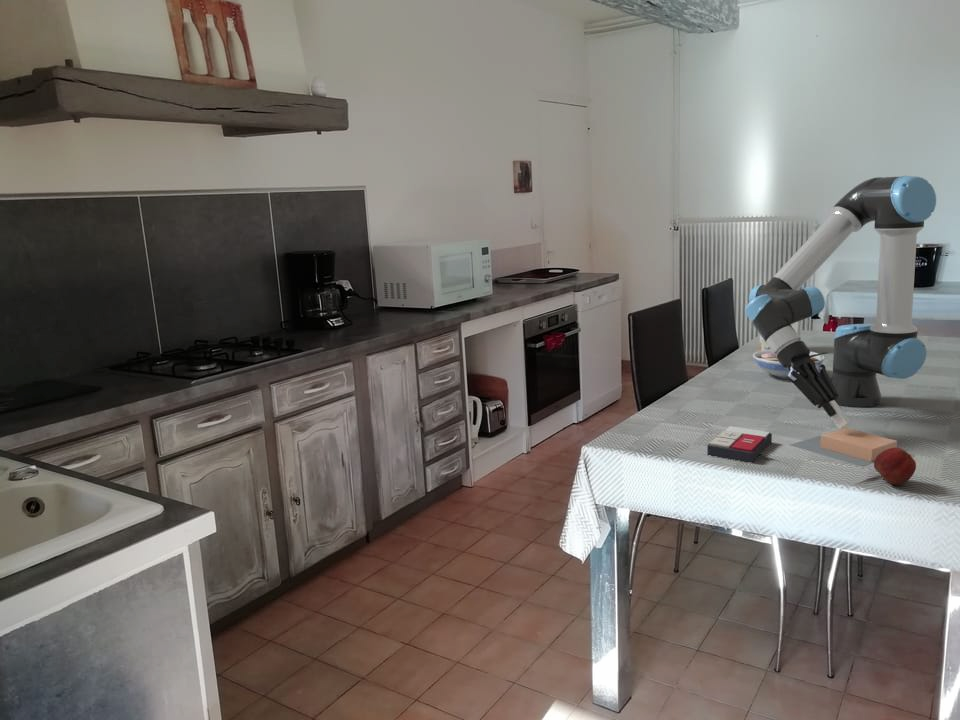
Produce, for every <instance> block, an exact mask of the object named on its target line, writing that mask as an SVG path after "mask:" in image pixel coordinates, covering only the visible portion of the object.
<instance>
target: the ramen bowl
mask: <svg viewBox="0 0 960 720" xmlns="http://www.w3.org/2000/svg"><path fill="white" fill-rule="evenodd" d="M826 354H828V352H826V351H825V352H821V353H818V352H814V351H810V354H809V357H810V358H811V359H812V360H813V361H814V362H815V364H816V365H819V366H820V365H821V364H823V362H824V360H825V355H826ZM752 357H753V359H754V361H755V363H756V364H757V366H758V367H759V368H760V369H762V370H763V371H764V372H766V373H768V374H770V375H772V376H775V377H776V378H778V377H779V379H783V378H784V379H786V380H788V379H787V378H786V376H787V375H788V374H789V373H790V371H789V369H788V368H784V367H783V366H782V365H781V363H780V362H779V360H778V359H777V355H775V354H774V353H773V352H772V350H771V349H770V350H762V351H759V350H758V351H756V352H753V354H752Z"/></svg>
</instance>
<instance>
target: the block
mask: <svg viewBox="0 0 960 720" xmlns="http://www.w3.org/2000/svg"><path fill="white" fill-rule="evenodd" d="M820 436H821V442H820V447H821V448H824V449H828V450H831V451H835V452H838V453H842V454H845V455H849V456H852V457H856V458H860V459H863V460H867V461H870V462H872V461H875V459H876V457H877V456H878V455H879V454H880V453H881V452H883V451H885V450H887V449H890V448H896V447H897V448H898V440H895V439H891V438H887V437H882V436H879V435H876V434H871V433H867V432H863V431H860V430H855V429H853V428H852V429H851V428H847V427H844V428H841V429H838V430H834V431H830V432H829V433H828V434H827V433H824V434H821V435H820Z"/></svg>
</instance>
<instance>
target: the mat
mask: <svg viewBox="0 0 960 720" xmlns="http://www.w3.org/2000/svg"><path fill="white" fill-rule="evenodd" d="M826 434H828V433H827V432H826ZM820 442H821V435H818V436H814V437H812V438H809V439H808V438H807V439H803V440H800V441H798V442H794V443H791V444H790V447H791V446H792V447H794V448H799V449H802V450H805V451H809V452H812V453H816V454H819V455H822V456H825V457H829V458H833V459H835V460H839V461H844V462H846V463H849V464H853V465H857V466H860V467H865V466H867V465H870V464H874V461H872V462H870V461H867V460H863V459H860V458H856V457H852V456H849V455H845V454H842V453H838V452H835V451H831V450H828V449H824V448H821V447H820ZM902 449H903V448H902ZM903 450H904V451H906V452H908V449H903Z"/></svg>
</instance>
